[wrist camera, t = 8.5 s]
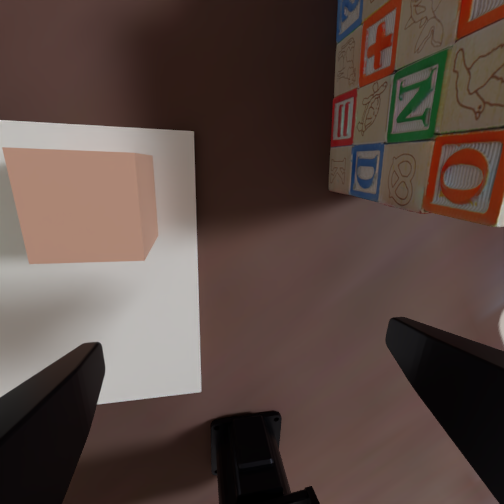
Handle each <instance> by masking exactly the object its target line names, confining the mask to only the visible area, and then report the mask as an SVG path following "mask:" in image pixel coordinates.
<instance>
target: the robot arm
mask: <svg viewBox="0 0 504 504" xmlns="http://www.w3.org/2000/svg"><path fill="white" fill-rule="evenodd" d="M386 345H387V347H388V348H389V350H390V352H391V353H392V355H393V356H394V358H395V360H396V361H397V363H398V364H399V366H400V368H401V369H402V371H403V373H404V374H405V376H406V377H407V379H408V381H409V382H410V384H411V385H412V387H413V388H414V390H415V391H416V392H417V394H418V395H419V396H420V398H421V399H422V400H423V402H424V403H425V404H426V406H427V407H428V408H429V410H430V411H431V412H432V414H433V415H434V417H435V418H436V419H437V421H438V422H439V423H440V425H441V426H442V427H443V429H444V430H445V431H446V433H447V434H448V435H449V437H450V438H451V439H452V441H453V442H454V443H455V445H456V446H457V447H458V449H459V450H460V451H461V453H462V454H463V455H464V457H465V458H466V459H467V461H468V462H469V463H470V465H471V466H472V467H473V469H474V470H475V471H476V473H477V474H478V475H479V477H480V478H481V479H482V481H483V482H484V483H485V485H486V486H487V487H488V489H489V490H490V492H491V493H492V494H493V496H494V497H495V498H496V500H497V501H498V502H499V504H504V351H501V350H498V349H495V348H492V347H490V346H487V345H484V344H481V343H478V342H475V341H472V340H469V339H466V338H463V337H461V336H458V335H455V334H452V333H449V332H446V331H443V330H440V329H437V328H434V327H432V326H429V325H426V324H423V323H420V322H417V321H414V320H411V319H408V318H405V317H394V318H391V319H390V321H389V324H388V329H387V334H386ZM104 376H105V361H104V355H103V349H102V345H101V343H100V342H88V343H83V344H81V345H80V346H78V347H77V348H75V349H73V350H72V351H70V352H69V353H67V354H66V355H64V356H63V357H61V358H60V359H58V360H57V361H55V362H54V363H52V364H51V365H49V366H47V367H46V368H44V369H43V370H41V371H40V372H38V373H37V374H35V375H34V376H32V377H31V378H29V379H28V380H26V381H24V382H23V383H21V384H20V385H18V386H17V387H15V388H14V389H12V390H11V391H9V392H8V393H6V394H5V395H3V396H1V397H0V504H62V502H63V500H64V497H65V494H66V492H67V489H68V487H69V484H70V481H71V479H72V476H73V474H74V471H75V468H76V466H77V463H78V461H79V458H80V455H81V453H82V450H83V448H84V445H85V442H86V440H87V437H88V434H89V431H90V428H91V424H92V421H93V417H94V413H95V410H96V406H97V402H98V398H99V395H100V391H101V387H102V383H103V380H104ZM280 430H281V415H280V413H279V412H269V413H262V414H255V415H247V416H240V417H233V418H226V419H219V420H214V421H213V422H212V423H211V464H212V474H213V475H217V478H218V495H219V504H320V503H319V501H318V499H317V496H316V494H315V492H314V490H313V488H312V486H309V487H306V488H305V489H304V490H300V491H297V492H293V493H291V491H290V487H289V484H288V480H287V477H286V473H285V470H284V466H283V462H282V459H281V455H280V452H279V441H280Z"/></svg>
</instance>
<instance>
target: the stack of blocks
mask: <svg viewBox="0 0 504 504" xmlns="http://www.w3.org/2000/svg"><path fill="white" fill-rule="evenodd" d="M336 42H337V47H336V63H335V87H334V99H333V109H332V130H331V150H330V166H329V190H330V191H332V192H337V193H341V194H346V195H352V196H356V197H360V198H364V199H368V200H371V201H375V202H380V203H381V204H383V205H388V206H390V207H396V208H399V209H403V210H407V211H411V212H416V213H421V214H427V213H435V214H439V215H444V216H448V217H452V218H457V219H461V220H465V221H470V222H474V223H478V224H483V225H487V226H491V227H503V226H504V0H338V11H337V34H336Z"/></svg>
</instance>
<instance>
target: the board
mask: <svg viewBox="0 0 504 504" xmlns="http://www.w3.org/2000/svg"><path fill="white" fill-rule="evenodd" d="M2 147H7V148H32V149H56V150H80V151H105V152H129V153H139V154H145V155H152V156H153V168H154V182H155V196H156V209H157V223H158V237H157V239H156V241H155V243H154V244H153V246H152V248H151V250H150V252H149V254H148V255H147V257H146V259H145V261H119V262H85V263H51V264H29V261H28V257H27V253H26V248H25V244H24V240H23V235H22V231H21V227H20V223H19V218H18V214H17V210H16V205H15V201H14V197H13V192H12V188H11V184H10V179H9V175H8V171H7V167H6V162H5V158H4V154H3V149H2ZM88 342H100V343H101V345H102V349H103V355H104V361H105V376H104V380H103V383H102V387H101V391H100V395H99V398H98V402H97V404H105V403H113V402H122V401H130V400H138V399H147V398H155V397H163V396H172V395H180V394H189V393H197V392H201V359H200V325H199V290H198V255H197V221H196V186H195V151H194V131H181V130H164V129H146V128H129V127H111V126H94V125H77V124H59V123H42V122H24V121H7V120H0V397H1V396H3V395H5V394H6V393H8V392H9V391H11V390H12V389H14V388H15V387H17V386H18V385H20V384H21V383H23V382H24V381H26V380H28V379H29V378H31V377H32V376H34V375H35V374H37V373H38V372H40V371H41V370H43V369H44V368H46V367H47V366H49V365H51V364H52V363H54V362H55V361H57V360H58V359H60V358H61V357H63V356H64V355H66V354H67V353H69V352H70V351H72V350H73V349H75V348H77V347H78V346H80V345H81V344H83V343H88Z"/></svg>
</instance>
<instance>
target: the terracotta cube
mask: <svg viewBox="0 0 504 504" xmlns="http://www.w3.org/2000/svg"><path fill="white" fill-rule="evenodd" d="M2 149H3V154H4V158H5V162H6V167H7V171H8V175H9V179H10V184H11V188H12V192H13V197H14V201H15V205H16V210H17V214H18V218H19V223H20V227H21V231H22V235H23V240H24V244H25V248H26V253H27V257H28V261H29V264H51V263H85V262H119V261H145V259H146V257H147V255H148V254H149V252H150V250H151V248H152V246H153V244H154V243H155V241H156V239H157V237H158V223H157V209H156V196H155V182H154V168H153V156H152V155H145V154H139V153H129V152H105V151H80V150H56V149H32V148H7V147H2Z"/></svg>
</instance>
